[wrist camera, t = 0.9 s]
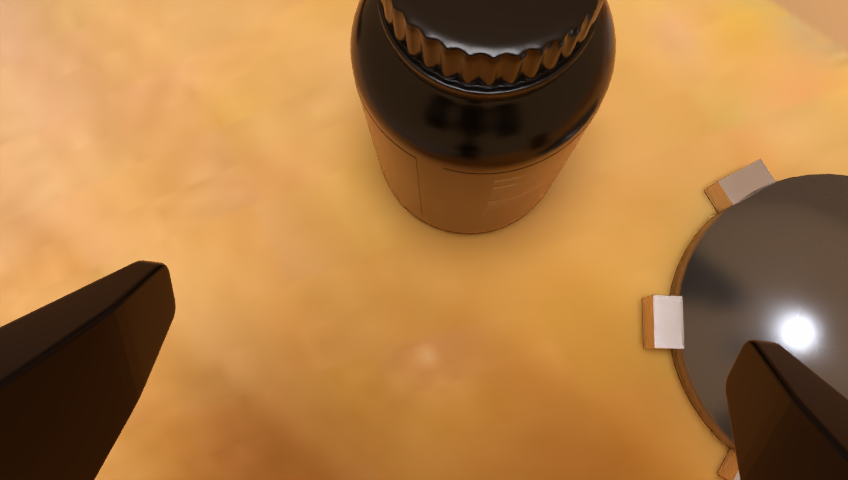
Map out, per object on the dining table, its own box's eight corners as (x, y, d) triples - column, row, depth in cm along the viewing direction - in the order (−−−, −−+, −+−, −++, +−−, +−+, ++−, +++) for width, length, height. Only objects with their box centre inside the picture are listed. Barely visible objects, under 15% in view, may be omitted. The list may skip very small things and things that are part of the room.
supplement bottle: (563, 78, 24) (677, -186, 13) (548, 246, 23) (660, 127, 11) (392, 60, 25) (349, -213, 13) (368, 225, 24) (295, 88, 12)
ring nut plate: (1074, 414, 22) (1111, 417, 20) (782, 585, 21) (803, 598, 20) (856, 109, 24) (878, 96, 23) (587, 252, 23) (594, 246, 22)
